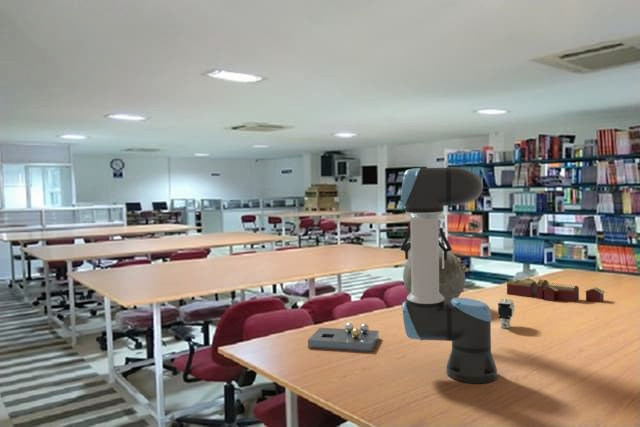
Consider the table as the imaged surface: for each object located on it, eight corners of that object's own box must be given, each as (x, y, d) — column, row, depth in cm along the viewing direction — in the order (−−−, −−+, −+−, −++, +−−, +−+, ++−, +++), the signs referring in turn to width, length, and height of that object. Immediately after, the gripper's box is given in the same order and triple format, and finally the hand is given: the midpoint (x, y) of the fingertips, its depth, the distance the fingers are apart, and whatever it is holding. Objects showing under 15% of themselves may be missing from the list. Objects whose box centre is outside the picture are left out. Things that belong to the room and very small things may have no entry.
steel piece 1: (352, 333, 188) (352, 324, 188) (344, 332, 189) (344, 324, 189) (354, 330, 191) (354, 322, 191) (346, 330, 192) (345, 321, 192)
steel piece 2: (368, 334, 186) (367, 325, 186) (359, 333, 187) (359, 324, 187) (369, 331, 190) (369, 323, 189) (361, 331, 190) (360, 322, 190)
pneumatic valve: (497, 330, 198) (497, 301, 198) (501, 323, 208) (501, 295, 208) (512, 331, 196) (512, 302, 195) (515, 324, 206) (515, 296, 205)
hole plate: (371, 352, 174) (371, 343, 174) (308, 347, 181) (307, 339, 180) (378, 338, 190) (378, 330, 190) (320, 334, 197) (320, 327, 197)
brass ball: (359, 339, 180) (359, 330, 180) (350, 338, 181) (350, 329, 181) (361, 336, 183) (361, 327, 183) (352, 335, 184) (352, 327, 184)
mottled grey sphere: (391, 307, 243) (390, 247, 242) (428, 297, 262) (427, 243, 261) (440, 317, 220) (440, 252, 219) (477, 306, 239) (476, 246, 238)
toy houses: (504, 295, 265) (504, 277, 265) (519, 290, 280) (519, 272, 280) (596, 307, 234) (596, 287, 233) (607, 300, 248) (607, 281, 248)
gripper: (457, 215, 197) (457, 267, 197) (396, 215, 204) (396, 265, 204) (457, 216, 190) (457, 269, 190) (393, 216, 197) (394, 268, 197)
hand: (426, 267), depth 197 cm, fingers open, 13 cm apart
